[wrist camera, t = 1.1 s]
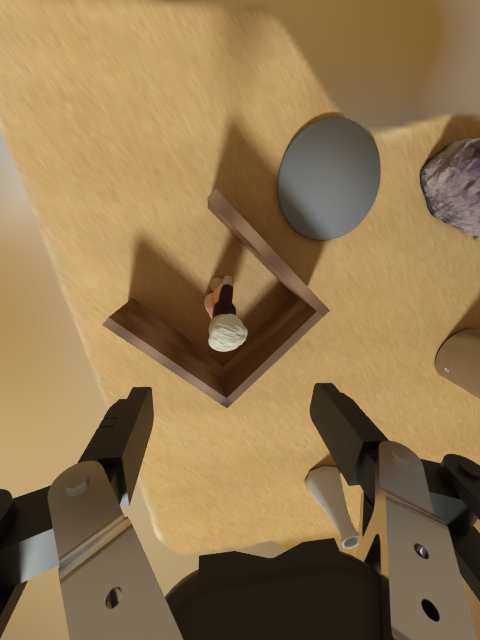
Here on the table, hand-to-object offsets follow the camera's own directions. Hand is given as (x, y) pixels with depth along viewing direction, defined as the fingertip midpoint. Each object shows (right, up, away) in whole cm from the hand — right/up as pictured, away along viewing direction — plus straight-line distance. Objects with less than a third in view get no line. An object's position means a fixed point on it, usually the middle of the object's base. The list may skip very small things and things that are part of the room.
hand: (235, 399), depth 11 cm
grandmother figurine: (-2, +7, +18) cm, 20 cm away
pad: (+10, +19, +15) cm, 27 cm away
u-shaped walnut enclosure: (-2, +7, +18) cm, 19 cm away
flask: (+16, -27, +33) cm, 45 cm away
